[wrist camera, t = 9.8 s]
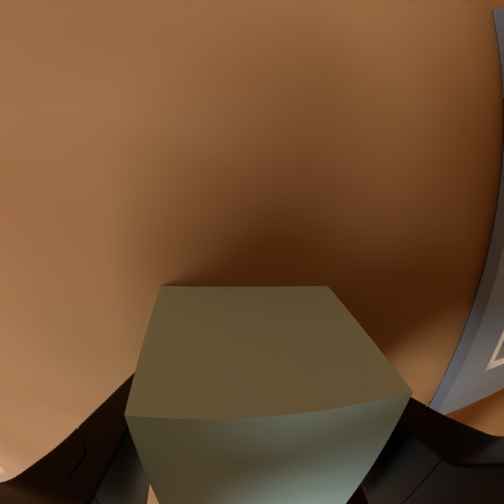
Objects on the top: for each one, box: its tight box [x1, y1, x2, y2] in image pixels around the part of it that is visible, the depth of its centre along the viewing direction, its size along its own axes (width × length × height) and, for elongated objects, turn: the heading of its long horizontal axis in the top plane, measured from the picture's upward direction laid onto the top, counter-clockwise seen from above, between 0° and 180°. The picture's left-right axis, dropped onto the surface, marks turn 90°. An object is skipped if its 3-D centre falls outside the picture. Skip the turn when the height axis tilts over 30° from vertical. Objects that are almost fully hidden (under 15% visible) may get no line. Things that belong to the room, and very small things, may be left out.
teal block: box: [125, 286, 413, 504], centre depth 7 cm, size 5×5×5 cm
